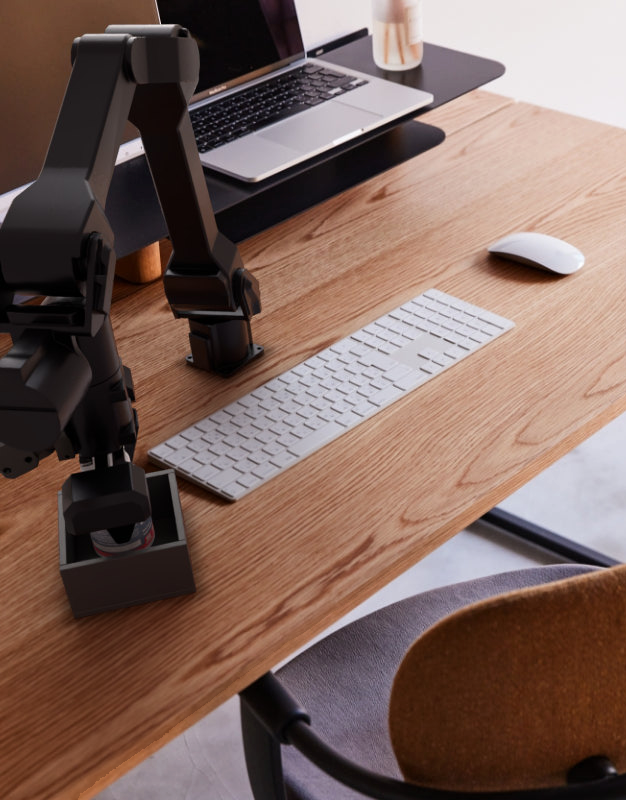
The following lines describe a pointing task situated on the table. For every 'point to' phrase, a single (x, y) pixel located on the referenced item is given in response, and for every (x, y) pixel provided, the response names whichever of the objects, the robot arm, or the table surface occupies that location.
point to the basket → (130, 559)
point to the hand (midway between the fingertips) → (121, 520)
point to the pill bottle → (140, 536)
